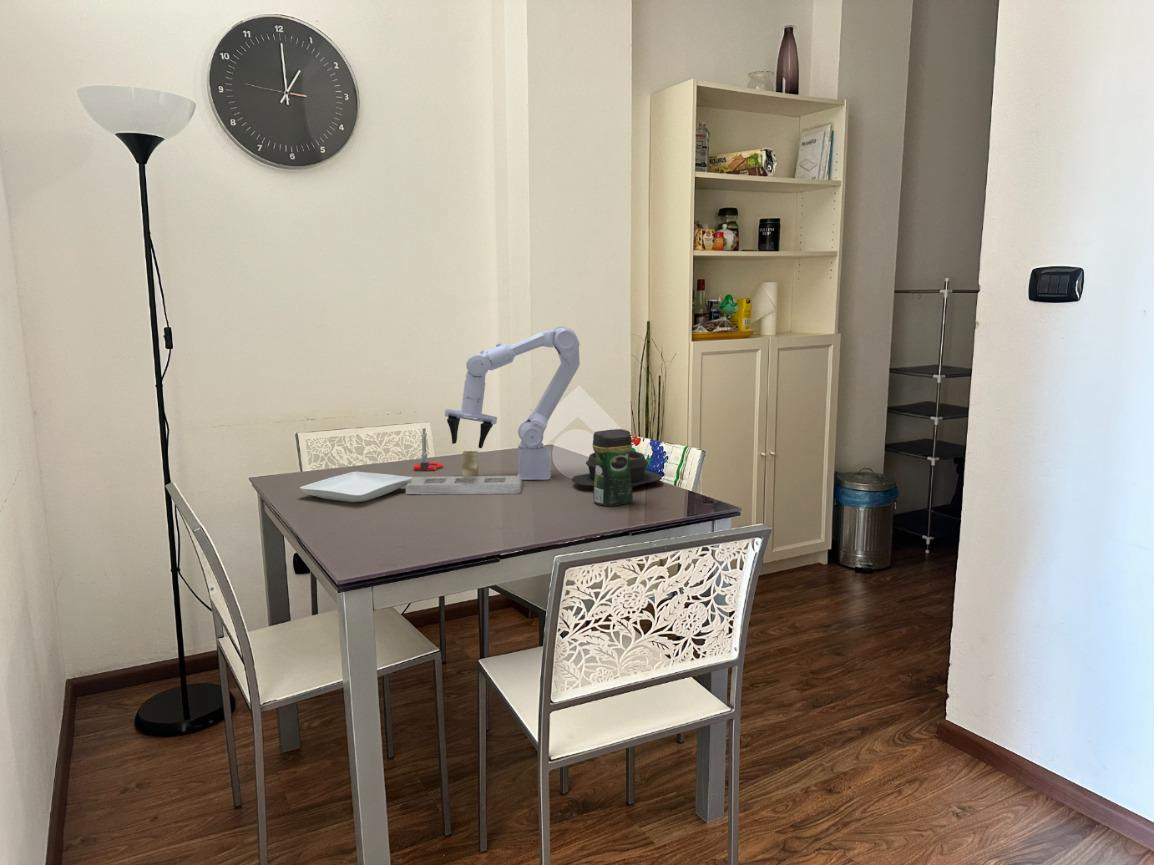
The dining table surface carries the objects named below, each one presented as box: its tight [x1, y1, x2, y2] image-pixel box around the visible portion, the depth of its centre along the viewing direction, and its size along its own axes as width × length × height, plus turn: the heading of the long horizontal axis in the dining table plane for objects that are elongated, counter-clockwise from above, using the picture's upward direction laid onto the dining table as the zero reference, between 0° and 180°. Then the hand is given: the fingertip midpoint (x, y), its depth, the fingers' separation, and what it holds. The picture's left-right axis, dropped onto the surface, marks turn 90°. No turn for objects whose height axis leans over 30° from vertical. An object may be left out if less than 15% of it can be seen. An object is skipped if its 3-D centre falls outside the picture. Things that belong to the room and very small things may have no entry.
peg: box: [461, 450, 480, 476], centre depth 231 cm, size 4×4×8 cm
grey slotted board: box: [405, 475, 523, 495], centre depth 221 cm, size 30×10×2 cm, turn 90°
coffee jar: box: [592, 428, 634, 507], centre depth 205 cm, size 10×8×19 cm
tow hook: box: [413, 427, 444, 472], centre depth 248 cm, size 8×13×9 cm
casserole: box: [571, 450, 663, 489], centre depth 224 cm, size 25×19×8 cm
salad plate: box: [299, 471, 413, 503], centre depth 217 cm, size 21×21×3 cm
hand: (467, 445), depth 230 cm, fingers open, 7 cm apart
